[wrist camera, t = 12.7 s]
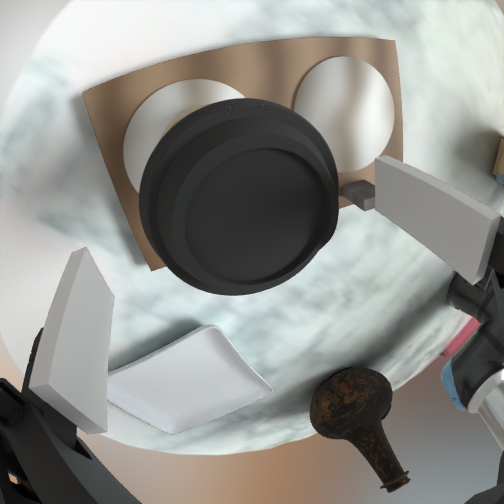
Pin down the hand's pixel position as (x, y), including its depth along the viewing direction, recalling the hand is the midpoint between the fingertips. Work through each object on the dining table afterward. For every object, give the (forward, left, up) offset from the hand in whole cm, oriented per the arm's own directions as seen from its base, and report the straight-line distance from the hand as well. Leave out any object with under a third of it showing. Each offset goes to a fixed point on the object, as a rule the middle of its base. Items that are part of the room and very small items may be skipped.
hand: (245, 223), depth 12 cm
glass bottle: (-14, +52, -16) cm, 56 cm away
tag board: (-7, +1, -16) cm, 17 cm away
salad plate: (+12, +31, -16) cm, 37 cm away
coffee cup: (0, 0, -14) cm, 14 cm away
